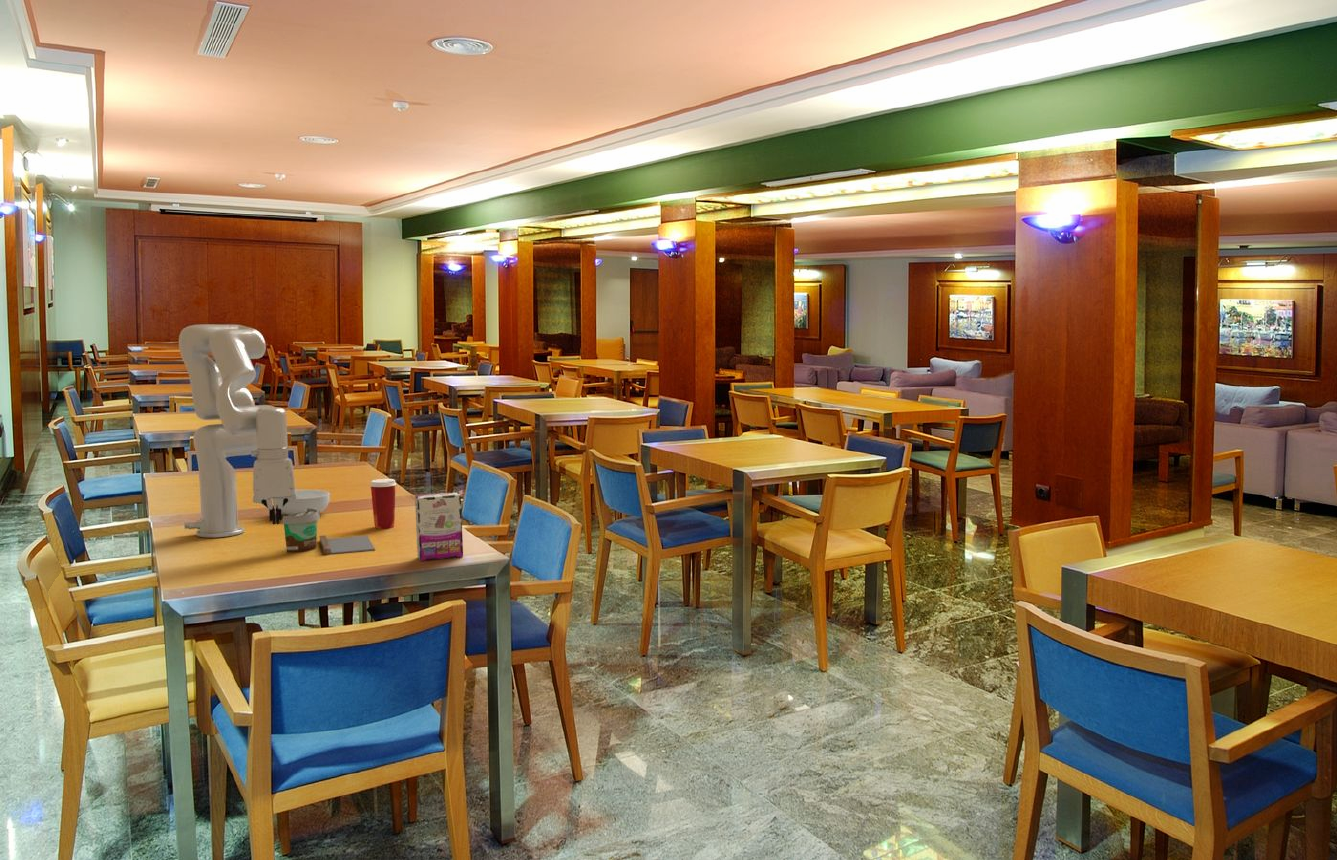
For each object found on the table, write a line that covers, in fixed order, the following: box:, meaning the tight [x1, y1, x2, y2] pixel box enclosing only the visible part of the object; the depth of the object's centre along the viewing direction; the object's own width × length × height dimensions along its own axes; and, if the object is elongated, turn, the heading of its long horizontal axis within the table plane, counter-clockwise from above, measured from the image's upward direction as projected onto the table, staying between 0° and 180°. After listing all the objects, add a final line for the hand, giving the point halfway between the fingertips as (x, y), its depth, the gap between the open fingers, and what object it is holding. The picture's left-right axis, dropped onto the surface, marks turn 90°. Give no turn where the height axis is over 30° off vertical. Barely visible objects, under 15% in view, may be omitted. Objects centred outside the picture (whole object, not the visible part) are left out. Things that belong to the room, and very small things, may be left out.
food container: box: [281, 508, 321, 554], centre depth 261 cm, size 12×6×10 cm, turn 168°
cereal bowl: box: [271, 489, 331, 516], centre depth 308 cm, size 17×17×7 cm
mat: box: [327, 535, 376, 555], centre depth 266 cm, size 11×18×1 cm, turn 23°
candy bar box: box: [414, 492, 464, 562], centre depth 251 cm, size 11×5×16 cm, turn 114°
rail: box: [319, 534, 331, 556], centre depth 263 cm, size 2×18×2 cm, turn 23°
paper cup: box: [369, 478, 397, 530], centre depth 290 cm, size 8×8×14 cm
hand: (275, 523), depth 258 cm, fingers closed
